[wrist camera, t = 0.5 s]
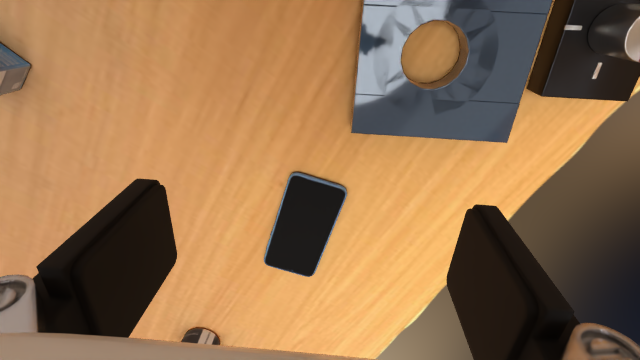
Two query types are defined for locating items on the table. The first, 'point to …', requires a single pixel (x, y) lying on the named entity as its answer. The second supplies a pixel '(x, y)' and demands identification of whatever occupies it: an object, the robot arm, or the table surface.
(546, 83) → the black dial plate
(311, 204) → the smartphone
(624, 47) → the rotary control knob
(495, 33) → the blue-grey patterned panel
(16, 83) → the label tape box
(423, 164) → the table surface
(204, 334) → the pill bottle
